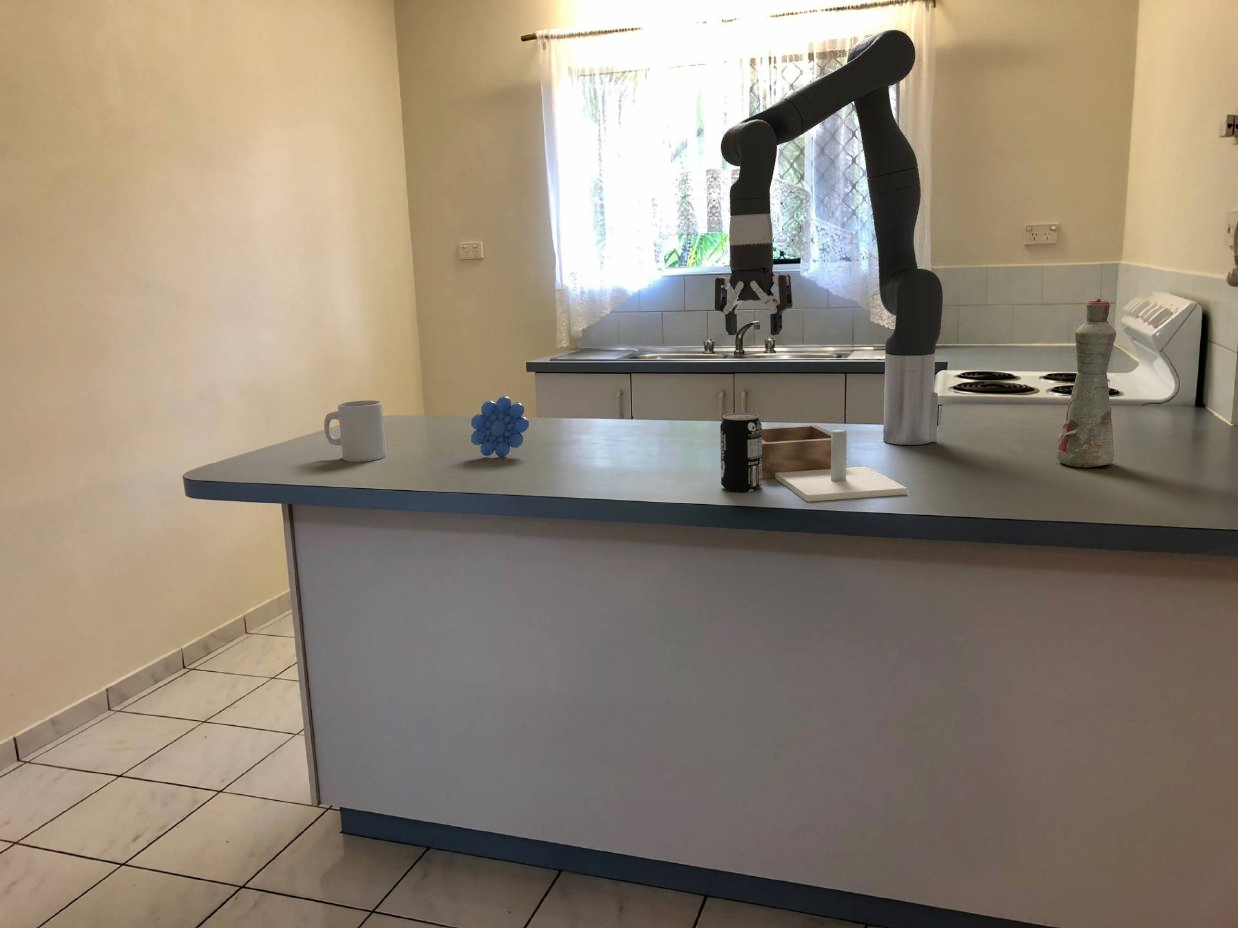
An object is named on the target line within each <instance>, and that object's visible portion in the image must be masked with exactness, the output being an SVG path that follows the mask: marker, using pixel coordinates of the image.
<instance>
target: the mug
mask: <svg viewBox="0 0 1238 928" xmlns="http://www.w3.org/2000/svg"><path fill="white" fill-rule="evenodd" d="M337 406H338V407H337V410H336V411H331V412H329V413H327V414H326V415H325V418H324V422H323V423H324V424H323V426H324V427H323V428H324V429H323V430H324V435H325V438H326V440H327V442H328V443H329V444H330V445H333V446H337V447H338V446H341V453H342V454H341V455H342V459H343V461H345V462H351V463H360V462H361V463H363V462H372V461H377V460H381V459H384V458H385V457H387V448H386V447H387V445H386V435H385V425H384V416H383V414H384V413H383V403H382V401H380V400H356V401H353V400H352V401H347V402H341V403H339V404H338V405H337ZM332 420H337V421H338V422H339V423H338V424H339V431H340V437H335V436H333V435H332V432H331V427H330V426H331V425H330V424H331V421H332Z"/></svg>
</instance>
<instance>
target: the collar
mask: <svg viewBox="0 0 1238 928" xmlns="http://www.w3.org/2000/svg"><path fill="white" fill-rule="evenodd" d="M823 469H831V431H830V430H827V429H826V428H823V427H821V426H819V425H817V424H810V425H809V424H808V425H807V424H806V425H792V426H791V425H790V426H775V427H762V480H767V479H775V473H779V472H794V471H808V470H823Z"/></svg>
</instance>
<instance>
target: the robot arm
mask: <svg viewBox="0 0 1238 928" xmlns="http://www.w3.org/2000/svg"><path fill="white" fill-rule="evenodd" d="M916 55H917V54H916V47H915V44H914V42H913V41H912V38H911V37H910V36H909V35H908V34H907V33H905V32H904V31H902V30H898V29H886V30H883V31H881V32H878V33H875V34H873V35H870V36H868V37H866V38H863V39H862V40H859V41H857V42H856V43H854V44H853V46H852V47H851V48H850V50H849V51H848V56H847V58H846V59H847V61H846V64H844V65H842V66H840V67H839V68H837V69H835V70H833V71H831V72H829V73H827V74H825V75H823V76H821V77H819V78H817V79H814V80H812V81H810V82H808V83H806V84H805V85H802V86H801V87H799V88H797V89H795V90H794V91H792V92H790V93H789V94H787V95H785V96H784V97H782V98H780V99H779V100H778V101H776V102H774V103H773V104H772V105H770V106H769V107H768V108H766V109H764V110H762V111H760V112H757V113H755V114H753V115H751V116H749V117H747V118H745V119H743V120H742V121H739V122H738V123H735V124H734V125H733V126H731V127H730V128H728V129H727V130H726V132H725V133H724V135H723V136H722V139H721V142H720V152H721V155H722V158H723V159H724V161H725V162H727V164H730V165H732V166H733V167H738V168H739V173H738V178H737V180H736V181H735V182H733V183H732V184H731V186H730V188H729V217H730V218H729V219H730V220H729V230H728V231H729V232H728V233H729V234H728V235H729V236H728V241H729V266H730V272H731V273H730V277H727V276H719V277H716V278H715V280H714V310H715V311H716V312H721V313H723V314H724V322H725V323H724V324H725V332H726V333H727V335H728V336H736V335H737V334H738V318H737V316H738V314H737V313H736V311H737V309H738V308H739V307H740V305H741V304H742V303H743V302H746V301H748V302H749V301H753V302H756V301H762V304H764V305H765V306H766V307H767V308H768V310H769V311H770V314H769V316H770V317H769V318H770V320H769V321H770V323H769V324H770V335H771V336H777V335H780V332H782V330H783V312H784V311H786V310H789V309H792V307H793V296H792V295H793V293H792V281H791V280H792V279H791V278H792V277H791V275H790V274H789V273H785V274H780V275H775V274H774V271H773V270H774V244H773V243H774V242H773V241H774V239H773V236H774V233H773V231H774V230H773V223H772V215H771V213H772V212H771V186H772V182H773V176H774V174H775V173H774V172H775V168H776V167H775V166H776V163H777V162H776V161H777V154H778V146H779V145H782V144H783V145H784V144H786V143H788V142H791V141H793V140H795V139H797V138H798V137H800V136H802V135H804V134H805V133H806V132H808V131H810V130H812V129H813V128H815V127H816V126H818V125H820V123H822V122H824V121H825V120H827V119H829V118H830V117H831V116H833V115H835V114H836V113H837V112H839V111H840V110H842V109H843V108H845V107H846V106H848V105H850V104H851V103H854V108H855V112H856V117H857V120H858V121H857V122H858V125H859V131H860V139H861V143H862V149H863V155H864V161H865V163H864V164H865V171H866V173H865V174H866V180H867V189H868V194H869V200H870V201H869V202H870V205H871V206H870V207H871V212H872V218H873V227H874V233H875V239H876V244H877V245H876V246H877V247H876V248H877V257H878V258H877V260H878V265H877V266H878V287H879V290H878V291H879V297H880V301H881V304H882V306H883V307H884V309H885V310H886V312H888V313H889V314H891V315H893V316H895V323H894V324H895V325H894V331H893V333H892V334H891V335H890V336H889V337H888V338H886V340H885V351H884V353H885V354H884V356H885V357H884V393H883V394H884V396H883V399H884V402H883V403H884V404H883V430H882V431H883V432H882V433H883V436H882V437H883V438H882V439H883V442H885V443H887V444H893V445H901V446H902V445H904V446H905V445H906V446H907V445H909V446H911V445H912V446H915V445H917V446H918V445H925V444H929V443H930V444H931V443H935V442H937V441H938V440H937V435H938V412H939V411H938V410H939V406H938V405H939V404H938V403H939V402H938V401H939V394H938V392H936V391H935V370H936V369H935V368H936V367H935V364H936V362H935V361H936V345H937V343H938V341H939V339H940V335H941V329H942V315H943V304H944V303H943V302H944V301H943V300H944V299H943V298H944V295H943V294H944V293H943V292H944V290H943V287H942V282H941V280H940V279H939V276H938V275H937V274H936V273H935V272H933V271H931V270H929V269H926V268H918V264H917V263H918V262H917V257H916V252H915V243H914V242H915V241H914V238H915V236H914V235H915V229H916V224H917V219H918V217H919V216H918V215H919V211H920V206H921V198H922V191H921V190H922V189H921V179H920V173H919V171H920V170H919V164H918V160H917V159H918V158H917V156H916V153H915V151H914V149H913V147H912V145H911V144H910V142H909V140H908V138H907V137H906V135H904V133H903V131H902V129H901V128H900V126H899V125H898V123H897V121H896V119H895V116H894V114H893V110H892V109H893V108H892V104H891V98H890V97H891V96H890V87H891V86H894V85H896V84H898V83H900V82H902V81H903V80H904V79H905V78H906V77H907V76H909V74H910V73H911V71H912V70H913V68H914V65H915V62H916ZM774 285H775V286H776V287H777V289H778V296H777V295H776V294H775V292H774V290H772V288H773V286H774ZM730 287H731V289H733V291H732V293H731V294H730V296H729V298H728V289H729V288H730ZM778 297H779V299H778Z"/></svg>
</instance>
